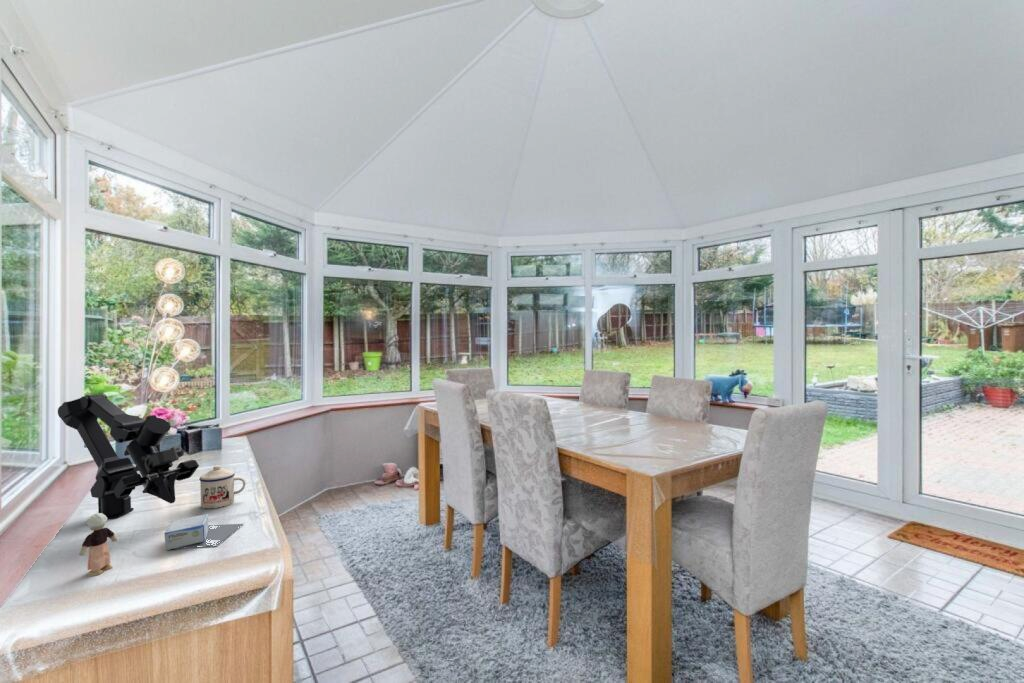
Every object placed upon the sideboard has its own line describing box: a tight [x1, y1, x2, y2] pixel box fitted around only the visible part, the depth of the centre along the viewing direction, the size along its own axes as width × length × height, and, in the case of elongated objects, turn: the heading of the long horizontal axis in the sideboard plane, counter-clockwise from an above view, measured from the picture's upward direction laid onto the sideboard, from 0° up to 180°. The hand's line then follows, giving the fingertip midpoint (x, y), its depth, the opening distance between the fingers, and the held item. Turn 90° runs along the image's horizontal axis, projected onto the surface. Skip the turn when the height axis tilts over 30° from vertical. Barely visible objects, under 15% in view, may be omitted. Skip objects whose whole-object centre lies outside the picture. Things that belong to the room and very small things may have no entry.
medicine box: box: [163, 513, 209, 551], centre depth 115 cm, size 8×4×9 cm
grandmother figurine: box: [78, 513, 118, 577], centre depth 100 cm, size 8×4×13 cm, turn 5°
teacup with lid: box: [199, 464, 247, 509], centre depth 142 cm, size 12×9×12 cm
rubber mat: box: [177, 523, 244, 549], centre depth 118 cm, size 9×13×1 cm
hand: (173, 502), depth 124 cm, fingers closed
